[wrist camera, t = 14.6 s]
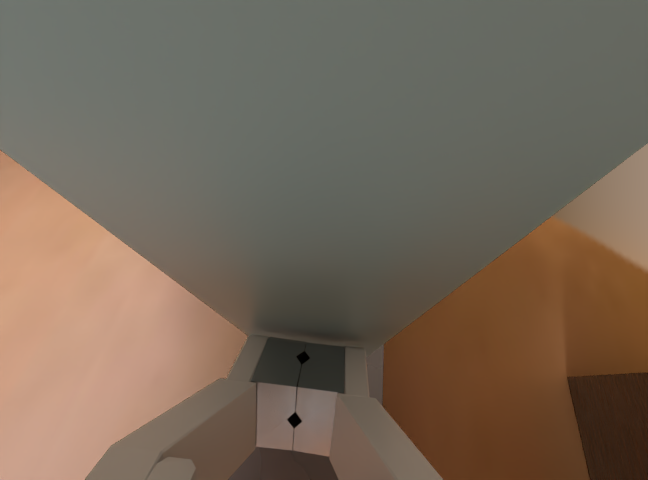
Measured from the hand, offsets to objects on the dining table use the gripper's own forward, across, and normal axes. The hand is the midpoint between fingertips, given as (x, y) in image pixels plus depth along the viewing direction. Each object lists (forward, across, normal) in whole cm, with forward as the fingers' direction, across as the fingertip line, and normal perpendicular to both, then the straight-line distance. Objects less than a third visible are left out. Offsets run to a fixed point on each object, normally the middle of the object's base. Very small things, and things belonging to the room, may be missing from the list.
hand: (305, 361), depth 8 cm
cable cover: (+7, 0, 0) cm, 7 cm away
